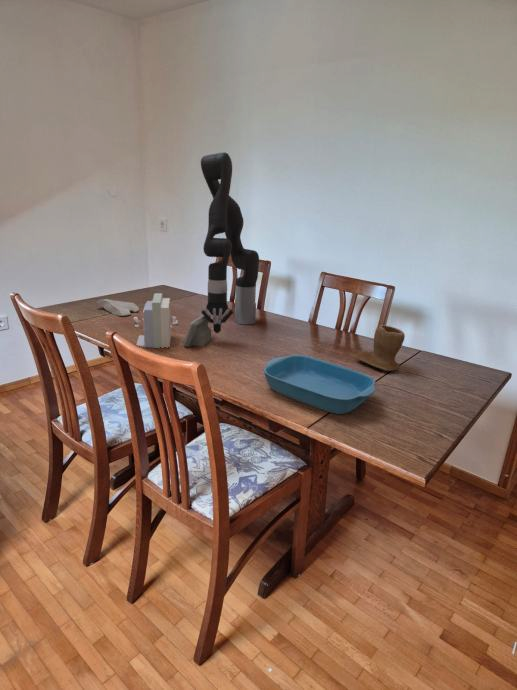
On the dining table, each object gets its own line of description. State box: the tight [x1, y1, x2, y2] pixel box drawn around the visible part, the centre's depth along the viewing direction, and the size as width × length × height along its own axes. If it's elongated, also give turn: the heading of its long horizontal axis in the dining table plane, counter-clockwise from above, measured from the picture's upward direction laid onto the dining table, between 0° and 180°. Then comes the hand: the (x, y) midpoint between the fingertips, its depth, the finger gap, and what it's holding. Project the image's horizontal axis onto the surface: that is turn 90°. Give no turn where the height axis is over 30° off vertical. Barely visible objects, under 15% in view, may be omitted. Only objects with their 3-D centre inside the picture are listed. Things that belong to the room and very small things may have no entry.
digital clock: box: [183, 312, 212, 348], centre depth 179 cm, size 16×9×11 cm, turn 151°
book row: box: [135, 292, 172, 349], centre depth 176 cm, size 13×14×18 cm
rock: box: [95, 298, 140, 317], centre depth 216 cm, size 21×5×15 cm
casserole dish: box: [263, 354, 377, 415], centre depth 141 cm, size 37×22×7 cm, turn 51°
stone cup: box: [354, 324, 406, 372], centre depth 163 cm, size 15×12×15 cm
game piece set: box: [133, 316, 179, 331], centre depth 200 cm, size 19×20×4 cm
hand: (217, 332), depth 180 cm, fingers closed
